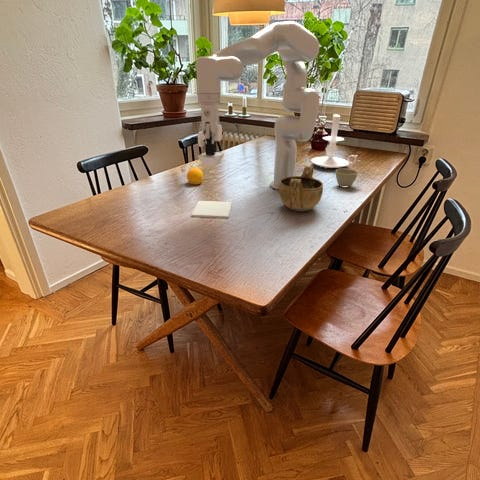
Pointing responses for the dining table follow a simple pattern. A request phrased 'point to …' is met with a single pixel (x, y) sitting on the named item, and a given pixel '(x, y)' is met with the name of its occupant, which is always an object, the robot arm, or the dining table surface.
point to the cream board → (212, 209)
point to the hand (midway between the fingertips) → (211, 153)
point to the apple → (195, 176)
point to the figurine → (205, 159)
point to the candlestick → (333, 149)
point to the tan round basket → (301, 191)
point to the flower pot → (346, 176)
